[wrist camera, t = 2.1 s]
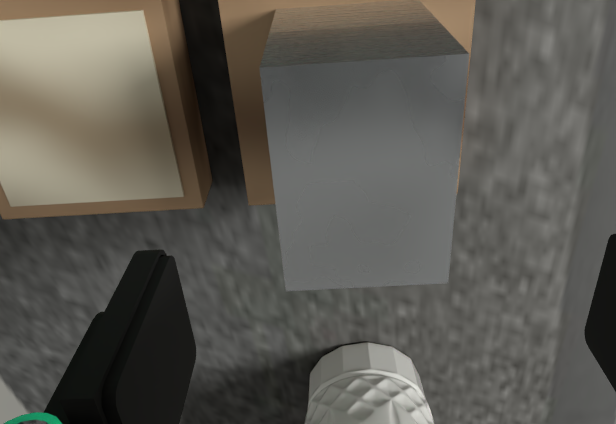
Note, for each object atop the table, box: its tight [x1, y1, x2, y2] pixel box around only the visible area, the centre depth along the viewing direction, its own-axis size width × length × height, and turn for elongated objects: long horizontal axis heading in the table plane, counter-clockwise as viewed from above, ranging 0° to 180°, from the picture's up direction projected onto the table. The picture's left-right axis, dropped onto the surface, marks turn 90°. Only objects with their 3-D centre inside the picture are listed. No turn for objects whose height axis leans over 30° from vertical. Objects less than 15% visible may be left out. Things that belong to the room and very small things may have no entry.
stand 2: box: [218, 0, 475, 205], centre depth 21 cm, size 9×9×2 cm
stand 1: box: [0, 0, 212, 219], centre depth 22 cm, size 9×9×3 cm
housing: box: [259, 0, 469, 291], centre depth 17 cm, size 7×5×7 cm
